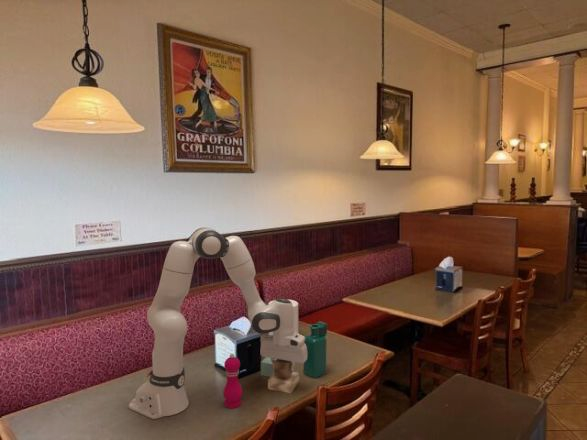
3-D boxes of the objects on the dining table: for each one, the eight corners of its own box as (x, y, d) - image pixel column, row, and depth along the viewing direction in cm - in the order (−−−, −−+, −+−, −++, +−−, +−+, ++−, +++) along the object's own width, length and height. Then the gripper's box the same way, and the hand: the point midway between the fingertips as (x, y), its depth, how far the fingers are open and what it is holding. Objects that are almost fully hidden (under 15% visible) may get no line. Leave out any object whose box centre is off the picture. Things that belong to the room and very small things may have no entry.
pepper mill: (238, 409, 155) (238, 358, 153) (220, 407, 157) (219, 357, 155) (244, 399, 162) (244, 350, 160) (227, 397, 164) (226, 349, 162)
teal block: (260, 375, 183) (260, 362, 182) (266, 369, 188) (266, 356, 188) (273, 377, 181) (273, 364, 180) (278, 371, 186) (278, 358, 186)
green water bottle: (314, 379, 179) (314, 330, 177) (301, 372, 185) (301, 324, 183) (330, 372, 185) (330, 324, 183) (317, 365, 192) (317, 319, 189)
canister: (302, 336, 228) (302, 300, 226) (292, 347, 213) (291, 309, 211) (275, 332, 233) (275, 298, 231) (263, 343, 218) (263, 306, 216)
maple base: (268, 388, 171) (267, 379, 170) (277, 378, 180) (277, 369, 179) (290, 393, 167) (290, 383, 167) (299, 382, 176) (299, 373, 176)
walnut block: (274, 375, 171) (274, 361, 171) (279, 369, 177) (279, 356, 176) (287, 378, 169) (287, 364, 169) (292, 371, 175) (292, 358, 174)
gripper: (257, 336, 172) (257, 368, 174) (303, 343, 165) (303, 376, 166) (263, 331, 178) (264, 362, 179) (308, 337, 171) (308, 369, 172)
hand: (283, 369), depth 173 cm, fingers closed on walnut block, 6 cm apart
